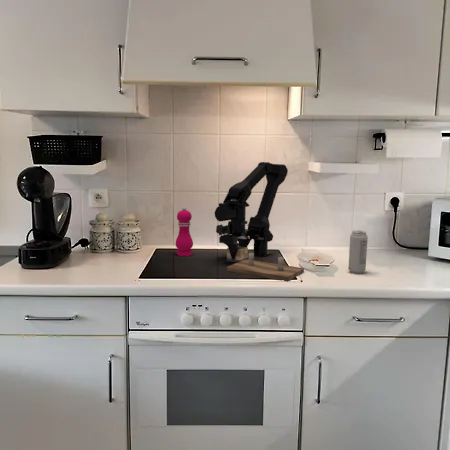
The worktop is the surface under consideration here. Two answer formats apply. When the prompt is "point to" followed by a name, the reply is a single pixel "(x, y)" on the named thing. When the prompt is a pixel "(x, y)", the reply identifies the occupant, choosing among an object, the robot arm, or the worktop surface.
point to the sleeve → (238, 254)
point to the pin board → (266, 269)
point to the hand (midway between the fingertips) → (237, 257)
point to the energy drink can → (358, 252)
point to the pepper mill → (184, 233)
